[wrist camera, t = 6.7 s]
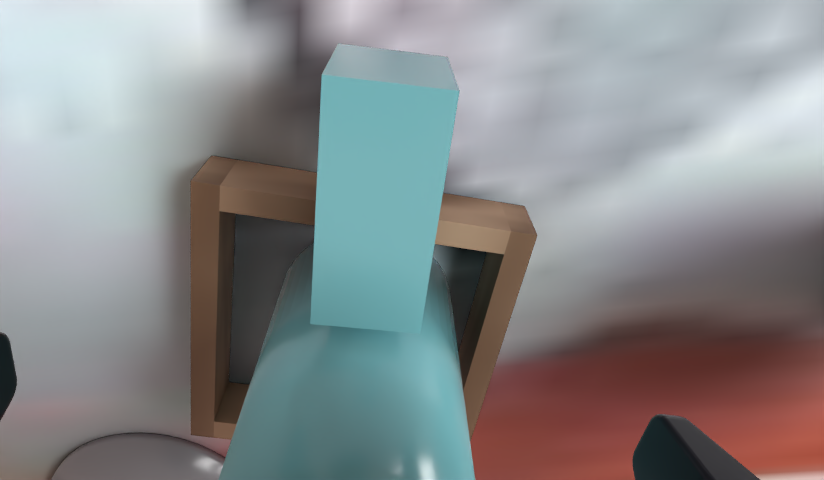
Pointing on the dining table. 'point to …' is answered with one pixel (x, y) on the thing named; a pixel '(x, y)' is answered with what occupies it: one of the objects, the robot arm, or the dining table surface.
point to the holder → (296, 202)
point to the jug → (366, 294)
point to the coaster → (140, 459)
